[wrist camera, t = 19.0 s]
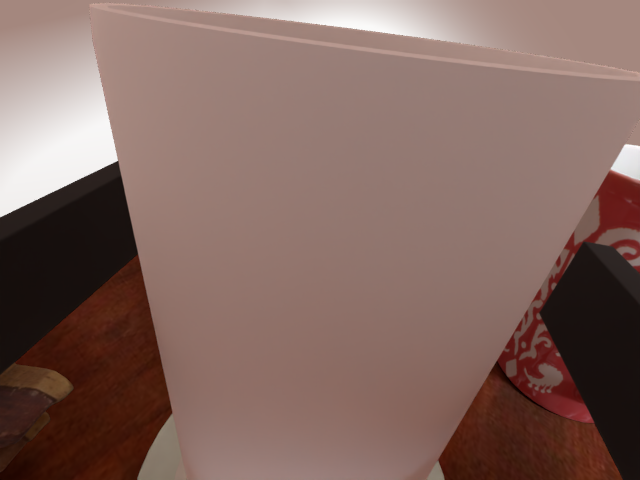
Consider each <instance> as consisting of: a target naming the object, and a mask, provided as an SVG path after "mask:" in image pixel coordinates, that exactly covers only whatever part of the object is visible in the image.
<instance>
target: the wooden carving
mask: <svg viewBox="0 0 640 480" xmlns="http://www.w3.org/2000/svg"><path fill="white" fill-rule="evenodd" d="M72 390H73V385H72V384H71V383H70V382H69V380H68V379H67V378H65V377H64V376H62V375H61V374H59V373H58V372H56V371H53V370H49V369H46V368H38V367H31V366H24V365H17V364H15V363H13V364H12V365H11V366H10V367H9V368H8V369H6V370H5V371H4V372H3V373H2V374H1V375H0V472H2V471H3V470H4V469H5V468H6V467H7V466H8V464H9V463H10V462H11V461H12V460H13V458H14V457H15V456H16V455H17V454H18V453H19V452H20V450H21V449H22V448H23V447H24V446H25V445H26V444H27V442H29V441H31V440H33V439H34V437H35V436H36V435H37V434H38V433H39V432H40V431H41V430H42V428H43V427H44V426H45V425H46V424H48V423H49V422H50V420H51V419H50V416H49V414H48V413H46V412H45V411H46V410H47V409H48V408H49V407H50V406H51V405H53V404H55V403H58V402H60V401H62V400H63V399H64V398H65V397H66V396H67V395H69V393H70V392H71V391H72Z"/></svg>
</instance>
